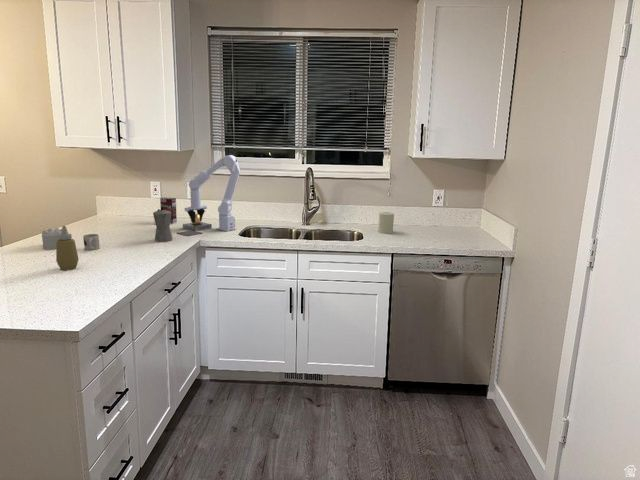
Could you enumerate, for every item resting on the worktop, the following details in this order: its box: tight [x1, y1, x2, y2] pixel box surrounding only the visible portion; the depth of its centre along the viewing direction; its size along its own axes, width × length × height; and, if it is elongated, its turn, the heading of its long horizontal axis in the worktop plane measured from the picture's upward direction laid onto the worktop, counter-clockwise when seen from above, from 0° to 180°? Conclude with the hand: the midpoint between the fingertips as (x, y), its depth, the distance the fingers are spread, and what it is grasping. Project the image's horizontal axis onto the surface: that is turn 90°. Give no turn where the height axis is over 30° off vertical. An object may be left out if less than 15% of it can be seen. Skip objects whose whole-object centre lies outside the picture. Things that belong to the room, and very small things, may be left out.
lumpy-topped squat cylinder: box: [41, 227, 62, 251], centre depth 219 cm, size 10×13×9 cm
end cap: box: [193, 213, 200, 225], centre depth 269 cm, size 4×4×8 cm
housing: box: [182, 221, 213, 232], centre depth 270 cm, size 12×12×2 cm
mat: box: [176, 230, 203, 237], centre depth 256 cm, size 10×10×1 cm
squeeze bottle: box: [55, 225, 80, 271], centre depth 184 cm, size 8×8×18 cm
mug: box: [82, 233, 101, 251], centre depth 216 cm, size 10×7×7 cm, turn 21°
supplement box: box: [159, 196, 178, 225], centre depth 283 cm, size 9×5×16 cm, turn 73°
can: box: [377, 211, 395, 235], centre depth 273 cm, size 9×9×12 cm
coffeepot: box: [152, 206, 173, 243], centre depth 238 cm, size 15×9×18 cm, turn 33°
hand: (196, 221), depth 270 cm, fingers closed on end cap, 4 cm apart
